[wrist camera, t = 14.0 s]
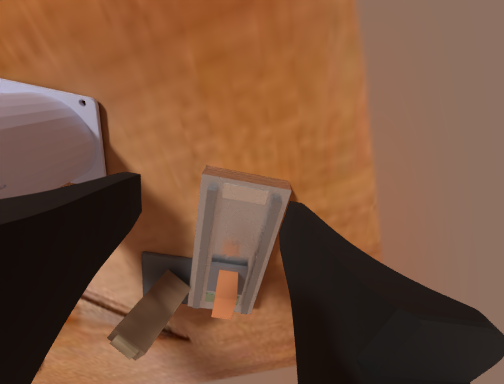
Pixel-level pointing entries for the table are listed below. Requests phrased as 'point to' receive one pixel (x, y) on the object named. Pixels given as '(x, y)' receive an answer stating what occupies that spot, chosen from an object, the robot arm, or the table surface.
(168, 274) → the brown rectangular block
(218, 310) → the lever
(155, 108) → the table surface
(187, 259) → the rubber pad
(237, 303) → the breaker panel
